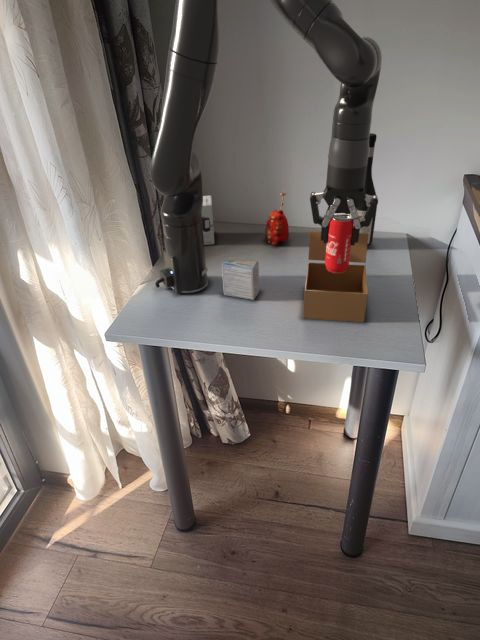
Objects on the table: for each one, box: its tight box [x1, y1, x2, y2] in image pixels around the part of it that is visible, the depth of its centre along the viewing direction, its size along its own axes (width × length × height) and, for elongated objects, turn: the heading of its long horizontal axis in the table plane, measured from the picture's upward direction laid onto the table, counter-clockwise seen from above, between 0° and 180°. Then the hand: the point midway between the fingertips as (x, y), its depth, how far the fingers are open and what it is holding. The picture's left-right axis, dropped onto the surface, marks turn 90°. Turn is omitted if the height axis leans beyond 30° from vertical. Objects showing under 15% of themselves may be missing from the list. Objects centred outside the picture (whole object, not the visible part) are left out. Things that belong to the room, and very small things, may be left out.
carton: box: [302, 261, 369, 323], centre depth 111 cm, size 14×14×7 cm
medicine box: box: [221, 256, 260, 301], centre depth 115 cm, size 8×4×9 cm, turn 71°
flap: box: [307, 230, 368, 264], centre depth 113 cm, size 7×14×1 cm
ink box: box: [201, 195, 216, 246], centre depth 140 cm, size 9×5×12 cm, turn 6°
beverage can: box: [324, 213, 354, 273], centre depth 103 cm, size 5×5×12 cm
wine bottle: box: [350, 132, 378, 248], centre depth 131 cm, size 8×8×30 cm
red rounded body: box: [264, 189, 290, 247], centre depth 138 cm, size 8×7×15 cm
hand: (339, 242), depth 102 cm, fingers closed on beverage can, 5 cm apart
